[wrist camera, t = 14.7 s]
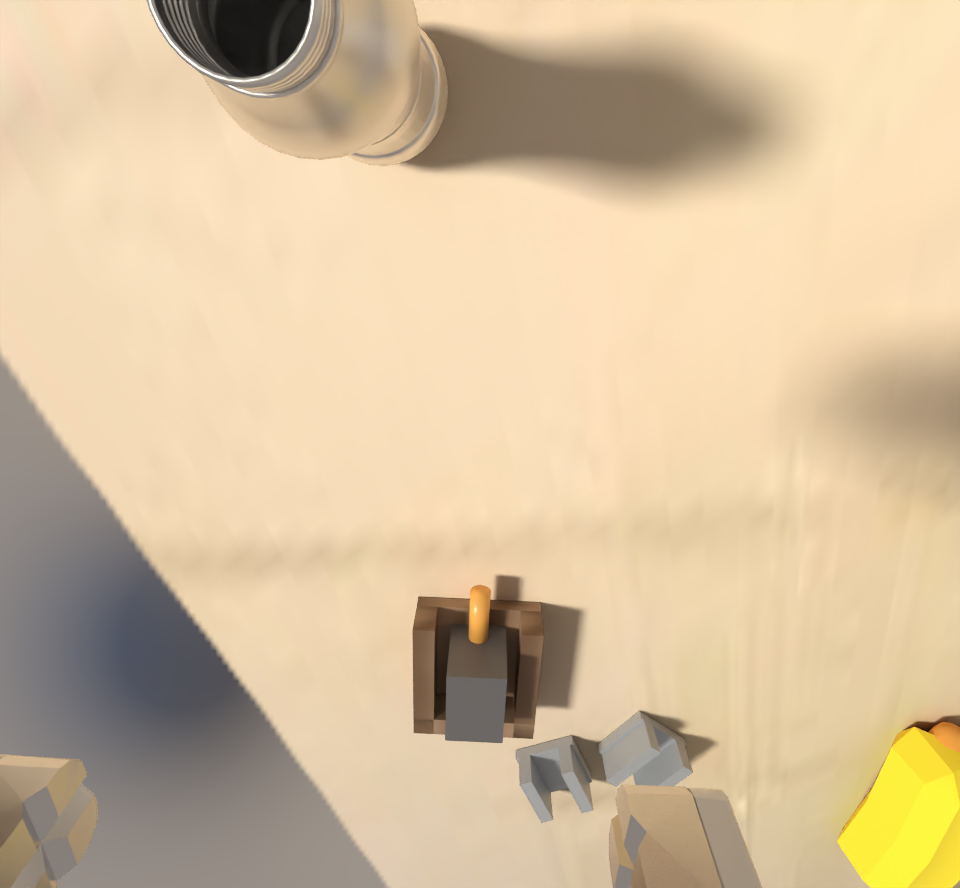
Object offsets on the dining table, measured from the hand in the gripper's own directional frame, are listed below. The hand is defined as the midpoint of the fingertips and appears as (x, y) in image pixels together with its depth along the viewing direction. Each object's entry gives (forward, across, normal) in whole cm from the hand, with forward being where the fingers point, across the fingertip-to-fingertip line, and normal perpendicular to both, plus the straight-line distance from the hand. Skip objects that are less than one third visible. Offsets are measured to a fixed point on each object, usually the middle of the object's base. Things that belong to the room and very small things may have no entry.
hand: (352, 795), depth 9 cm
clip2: (+29, -9, +37) cm, 48 cm away
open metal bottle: (+29, +4, -12) cm, 32 cm away
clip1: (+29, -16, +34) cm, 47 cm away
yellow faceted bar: (+30, -39, +38) cm, 62 cm away
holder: (+29, -2, +25) cm, 38 cm away
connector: (+28, -2, +22) cm, 36 cm away
